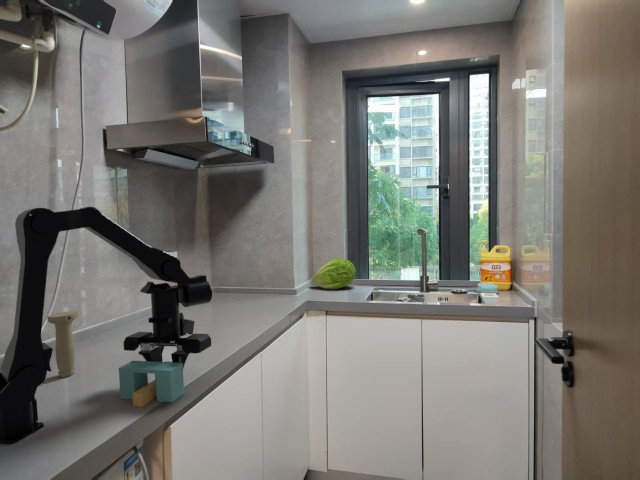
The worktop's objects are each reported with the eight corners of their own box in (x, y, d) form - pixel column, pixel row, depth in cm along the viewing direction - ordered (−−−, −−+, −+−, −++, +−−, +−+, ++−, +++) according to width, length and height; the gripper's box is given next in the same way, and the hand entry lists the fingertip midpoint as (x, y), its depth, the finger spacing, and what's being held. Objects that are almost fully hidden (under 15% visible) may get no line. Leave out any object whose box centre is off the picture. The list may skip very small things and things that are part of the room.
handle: (85, 372, 106) (81, 312, 105) (59, 381, 100) (55, 317, 99) (73, 369, 108) (69, 310, 107) (47, 378, 102) (42, 316, 101)
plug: (146, 407, 84) (145, 384, 84) (128, 405, 85) (127, 383, 85) (184, 380, 98) (183, 360, 98) (168, 379, 99) (167, 360, 99)
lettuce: (308, 297, 215) (323, 294, 229) (351, 284, 204) (364, 282, 218) (300, 268, 218) (315, 267, 232) (342, 254, 207) (356, 254, 221)
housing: (172, 402, 86) (170, 370, 86) (120, 398, 89) (118, 367, 89) (184, 393, 90) (182, 363, 90) (134, 389, 93) (132, 360, 93)
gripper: (220, 303, 101) (224, 369, 101) (150, 303, 105) (154, 365, 106) (196, 314, 90) (200, 387, 91) (119, 313, 94) (123, 382, 95)
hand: (169, 379), depth 96 cm, fingers closed on plug, 4 cm apart
